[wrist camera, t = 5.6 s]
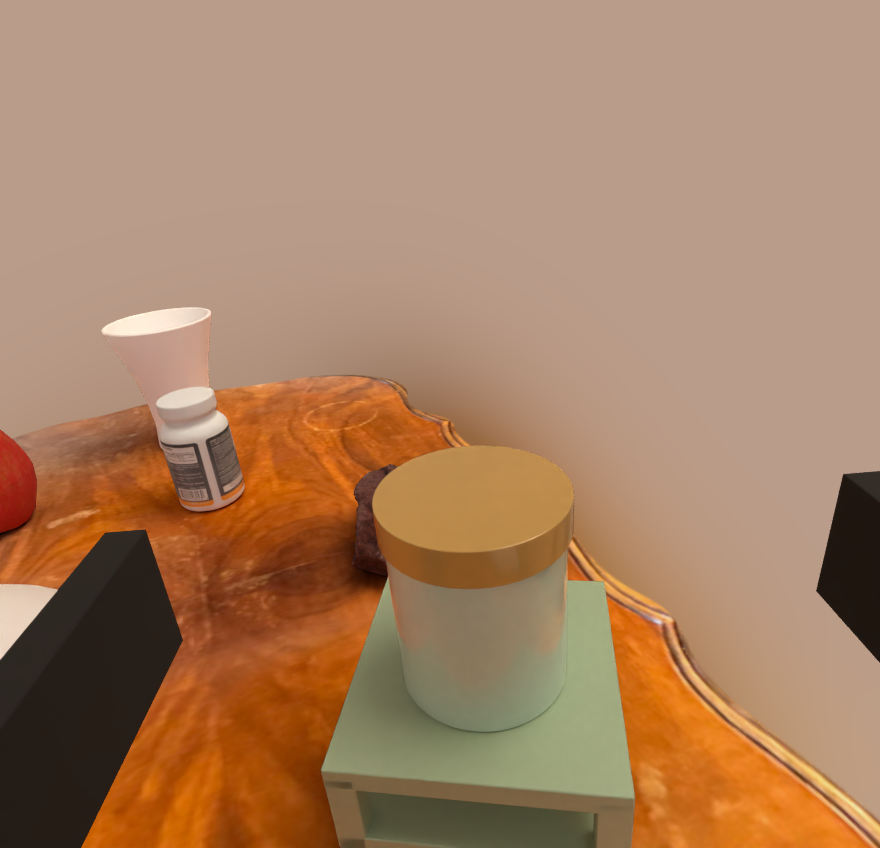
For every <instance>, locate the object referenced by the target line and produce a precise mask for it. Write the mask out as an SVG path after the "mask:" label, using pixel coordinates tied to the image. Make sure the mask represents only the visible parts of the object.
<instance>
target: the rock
mask: <svg viewBox="0 0 880 848" xmlns="http://www.w3.org/2000/svg"><path fill="white" fill-rule="evenodd" d="M397 467H398V466H395V465H391V464H389V465H388V466H386V467H383V468H381V469H379V470H377V471H371V472H369V473H367V474H366V475H365V476H364V477H363V478H362V479H361V480H360V481H359V483H357V484H356V487H355V489H354V495H355V499H356V501H357V502H358V505H359V506H358V508H357V509H356V510H357V522H356V535H355V536H356V542H355V544H354V548H355V553H354V557H353V560H352V566H354V567H356V568H357V569H362V570H365V571H368V572H372V573H377V574H379V575H384V576H388V572H387V565H386V559H385V557H384V556H383V554H382V553H381V551H380V548H379V546H378V542H377V535H376V529H375V522H374V516H373V509H372V499H373V495H374V493H375V490H376V488H377V487H378V485H379V483H380V482H381V481H382V480H383V479H384V478H385V477H386V476H387V475H388V474H389V473H390V472H391V471H393V470H394V469H396V468H397Z"/></svg>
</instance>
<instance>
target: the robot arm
mask: <svg viewBox="0 0 880 848" xmlns="http://www.w3.org/2000/svg"><path fill="white" fill-rule="evenodd" d="M816 591H817V592H818V593H819V594H820V596H821V597H822V598H823V599H824V600H825V601H826V602H827V604H829V606H830V607H831V608H832V609H833V610H834V612H835V613H836V614H837V615H838V616H839V617H840V618H841V619H842V621H843V622H844V623H845V624H846V625H847V626H848V627H849V628H850V629H851V631H852V632H853V633H854V634H855V635H856V636H857V637H858V639H859V640H860V641H861V642H862V643H863V644H864V645H865V647H866V648H867V649H868V650H869V651H870V652H871V653H872V654H873V656H874V657H875V658H876V659H877V660H878V661H879V662H880V471H877V472H864V473H852V474H843V478H842V482H841V486H840V490H839V495H838V499H837V503H836V508H835V512H834V516H833V521H832V525H831V529H830V534H829V538H828V543H827V547H826V551H825V556H824V560H823V564H822V568H821V573H820V577H819V581H818V586H817V590H816ZM182 641H183V639H182V636H181V633H180V630H179V627H178V624H177V621H176V618H175V615H174V612H173V609H172V606H171V604H170V601H169V598H168V595H167V592H166V589H165V586H164V583H163V580H162V577H161V574H160V571H159V568H158V565H157V562H156V559H155V556H154V553H153V550H152V547H151V544H150V541H149V538H148V535H147V532H146V530H134V531H121V532H109V533H105V534H104V535H103V536H102V537H101V539H100V540H99V541H98V542H97V543H96V545H95V546H94V547H93V548H92V550H91V551H90V552H89V553H88V554H87V556H86V557H85V558H84V559H83V560H82V562H81V563H80V564H79V565H78V566H77V568H76V569H75V570H74V571H73V572H72V574H71V575H70V576H69V577H68V578H67V580H66V581H65V582H64V583H63V585H62V586H61V587H60V588H59V589H58V591H57V592H56V593H55V594H54V595H53V597H52V598H51V599H50V600H49V601H48V603H47V604H46V605H45V606H44V607H43V609H42V610H41V611H40V612H39V614H38V615H37V616H36V617H35V618H34V620H33V621H32V622H31V623H30V624H29V626H28V627H27V628H26V629H25V630H24V632H23V633H22V634H21V635H20V636H19V638H18V639H17V640H16V641H15V642H14V644H13V645H12V646H11V647H10V649H9V650H8V651H7V652H6V653H5V655H4V656H3V657H2V658H1V659H0V848H81V847H82V845H83V843H84V841H85V839H86V837H87V835H88V833H89V831H90V828H91V826H92V824H93V822H94V820H95V818H96V816H97V814H98V812H99V810H100V808H101V806H102V804H103V802H104V800H105V798H106V796H107V794H108V792H109V790H110V788H111V786H112V784H113V782H114V780H115V777H116V775H117V773H118V771H119V769H120V767H121V765H122V763H123V761H124V759H125V757H126V755H127V753H128V751H129V749H130V747H131V745H132V743H133V741H134V739H135V737H136V735H137V733H138V731H139V728H140V726H141V724H142V722H143V720H144V718H145V716H146V714H147V712H148V710H149V708H150V706H151V704H152V702H153V700H154V698H155V696H156V694H157V692H158V690H159V688H160V686H161V684H162V682H163V679H164V677H165V675H166V673H167V671H168V669H169V667H170V665H171V663H172V661H173V659H174V657H175V655H176V653H177V651H178V649H179V647H180V645H181V643H182Z"/></svg>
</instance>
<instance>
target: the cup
mask: <svg viewBox="0 0 880 848" xmlns="http://www.w3.org/2000/svg"><path fill="white" fill-rule="evenodd" d="M210 325H211V312H210V310H208V309H205V308H196V307H195V308H194V307H192V308H191V307H187V308H173V309H165V310H158V311H152V312H147V313H142V314H138V315H134V316H130V317H126V318H123V319H121V320H117V321H115V322H112V323H110V324H108V325H107V326H105V327H104V328H103V329H102V331H101V333H102V334H103V335H104V337H105V338H106V340H107V341H108V342H109V344H110V345H111V346H112V348H113V349H114V351H115V352H116V353H117V355H118V356H119V358H120V359H121V361H122V362H123V363H124V365H125V366H126V368H127V369H128V371H129V372H130V373H131V375H132V376H133V378H134V379H135V381H136V382H137V384H138V386H139V388H140V390H141V392H142V393H143V396H144V397H145V399H146V401H147V403H148V406H149V408H150V411H151V414H152V416H153V419H154V421H155V424H156V428H157V433H158V439H159V430H160V428H161V426H162V425H163V423H164V421H163V420H162V419H161V418H160V417H159V415H158V412H157V408H156V402H157V400H158V399H159V398H161V397H162V396H164V395H166V394H168V393H171V392H173V391H177V390H180V389H185V388H190V387H208V388H209V376H208V356H209V336H210ZM159 444H160V447H161V448H162V445H161V442H160V440H159ZM162 449H163V448H162Z"/></svg>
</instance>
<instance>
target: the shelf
mask: <svg viewBox="0 0 880 848" xmlns="http://www.w3.org/2000/svg"><path fill="white" fill-rule="evenodd" d="M321 774H322V778H323V782H324V786H325V789H326V793H327V797H328V801H329V805H330V809H331V813H332V817H333V821H334V825H335V829H336V833H337V838H338V842H339V846H340V848H631V846H632V833H633V820H634V808H635V794H634V787H633V780H632V773H631V766H630V759H629V752H628V745H627V738H626V731H625V724H624V717H623V710H622V703H621V696H620V689H619V682H618V675H617V668H616V661H615V654H614V647H613V640H612V633H611V626H610V619H609V612H608V605H607V598H606V591H605V584H604V582H602V581H569V580H568V639H567V675H566V680H565V683H564V686H563V688H562V690H561V692H560V694H559V695H558V697H557V699H556V700H555V701H554V702H553V703H552V705H551V706H550V707H549V708H548V709H547V710H546V711H544V712H543V713H542V714H541V715H539V716H538V717H536V718H535V719H533V720H531V721H529V722H527V723H525V724H523V725H520V726H518V727H515V728H512V729H507V730H503V731H496V732H472V731H464V730H460V729H457V728H453V727H450V726H448V725H445V724H443V723H441V722H439V721H437V720H435V719H433V718H432V717H430V716H429V715H428V714H426V713H425V712H424V711H423V710H422V709H421V708H420V707H419V706H418V705H417V704H416V703H415V701H414V700H413V699H412V697H411V696H410V694H409V692H408V690H407V688H406V685H405V682H404V679H403V672H402V666H401V659H400V652H399V645H398V639H397V632H396V625H395V619H394V612H393V605H392V599H391V592H390V585H389V579H388V578H387V581H386V584H385V587H384V590H383V593H382V596H381V598H380V601H379V604H378V607H377V610H376V613H375V616H374V619H373V621H372V624H371V627H370V630H369V633H368V636H367V639H366V642H365V645H364V647H363V650H362V653H361V656H360V659H359V662H358V665H357V668H356V670H355V673H354V676H353V679H352V682H351V685H350V688H349V691H348V693H347V696H346V699H345V702H344V705H343V708H342V711H341V714H340V716H339V719H338V722H337V725H336V728H335V731H334V734H333V737H332V740H331V742H330V745H329V748H328V751H327V754H326V757H325V760H324V763H323V765H322V768H321Z"/></svg>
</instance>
